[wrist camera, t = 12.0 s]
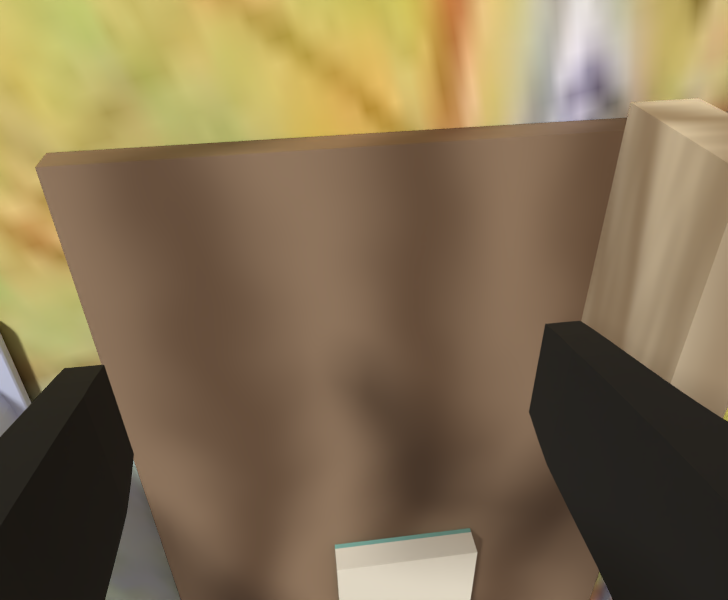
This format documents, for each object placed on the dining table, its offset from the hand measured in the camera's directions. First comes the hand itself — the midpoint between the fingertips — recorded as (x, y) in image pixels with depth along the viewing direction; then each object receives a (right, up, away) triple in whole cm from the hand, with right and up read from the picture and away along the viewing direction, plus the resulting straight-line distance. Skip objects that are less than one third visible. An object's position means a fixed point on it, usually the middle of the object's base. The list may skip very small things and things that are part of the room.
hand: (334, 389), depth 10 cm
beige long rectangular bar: (+9, +3, +10) cm, 14 cm away
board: (+2, -5, +15) cm, 16 cm away
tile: (+2, -9, +16) cm, 19 cm away
